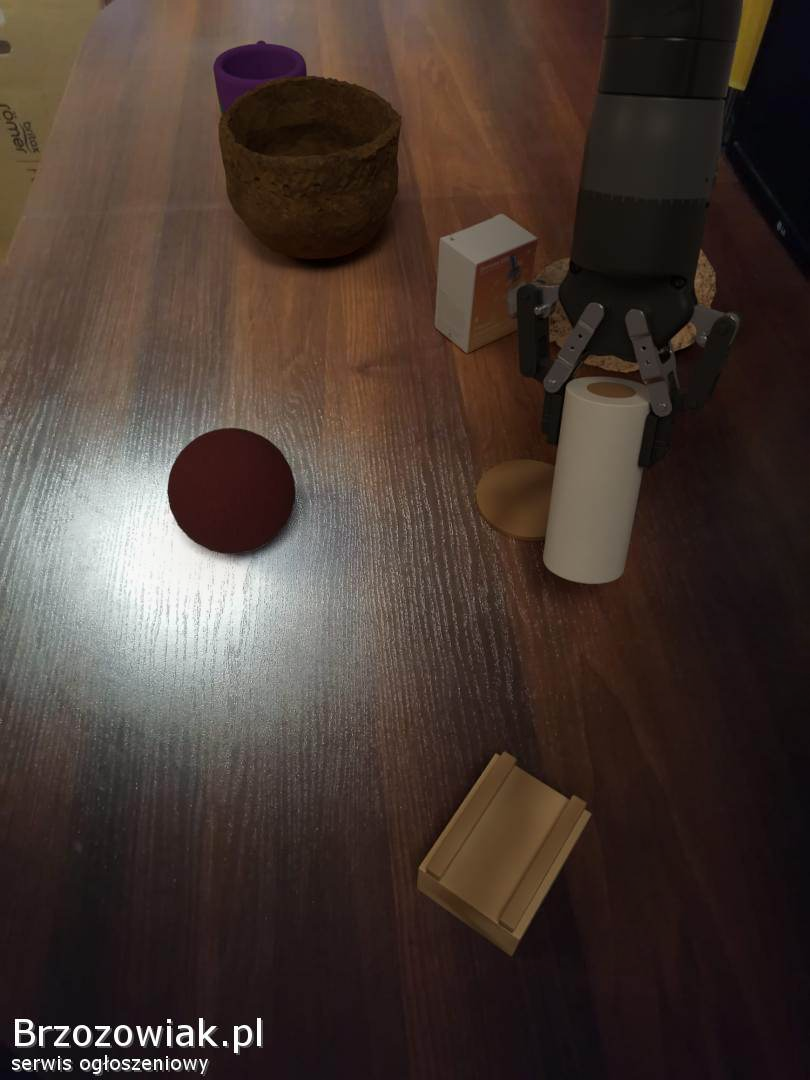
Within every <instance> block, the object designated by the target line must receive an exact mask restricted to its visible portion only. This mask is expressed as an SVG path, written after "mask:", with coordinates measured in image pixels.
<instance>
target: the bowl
mask: <svg viewBox="0 0 810 1080" xmlns="http://www.w3.org/2000/svg"><path fill="white" fill-rule="evenodd" d="M402 125H403V123H402V115H400V114H399V113H398V112H397V111H396V110H395V108H393V106H392V104H391V103H390V102H388V101H387V100H386V99H385V98H384V97H381V96H380V95H379V94H378V93H377V92H376V91H374V90H371V89H367V88H365V87H364V86H361V85H358V84H357V83H350V82H348V81H346V80H338V79H337V78H332V77H328V78H325V77H324V76H317V75H307V76H299V77H291V76H290V77H283V78H279V79H277V80H274V79H272V80H270V81H268V82H266V83H263V84H260V85H258V86H257V87H256V88H253V89H250V90H248V91H247V92H245V93H244V94H243V95H240V96H238V97H237V98H236V100H235V101H234V102H233V103H232V105H231V106H230V107H229V109H228V110H226V111H225V112H224V113H223V114H222V115H220V118H219V121H218V127H217V128H218V141H219V142H218V143H219V147H220V154H221V158H222V159H221V160H222V165H223V168H224V174H225V189H226V194H227V198H228V201H229V202H230V205H231V207H232V209H233V211H234V212H235V214H236V215H237V216H238V217H239V219H240V220H241V221H242V222H243V224H244V225H245V227H246V228H247V229H248V230H249V231H250V233H251V234H252V235H253V236H254V237H255V238H256V239H257V241H259V242H260V243H261V244H262V245H264V246H265V247H266V248H268V249H269V250H271V251H273V253H274V252H275V253H277V254H281V255H284V256H287V257H291V258H297V259H305V260H308V259H309V260H310V259H311V260H320V259H332V258H338V257H343V256H345V255H349V254H351V253H353V252H355V251H356V250H358V249H359V248H361V247H362V246H364V245H366V244H367V243H368V242H369V241H370V240H371V239H372V238H373V237H374V236H375V234H376V233H377V232H378V231H379V229H380V227H381V226H382V225H383V223H384V221H385V220H386V218H387V216H388V214H389V212H390V211H391V209H392V206H393V203H394V202H395V199H396V196H397V194H398V192H399V191H398V190H399V174H400V173H399V172H400V171H399V170H400V168H399V163H398V155H399V142H400V141H399V140H400V135H401V126H402Z"/></svg>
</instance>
